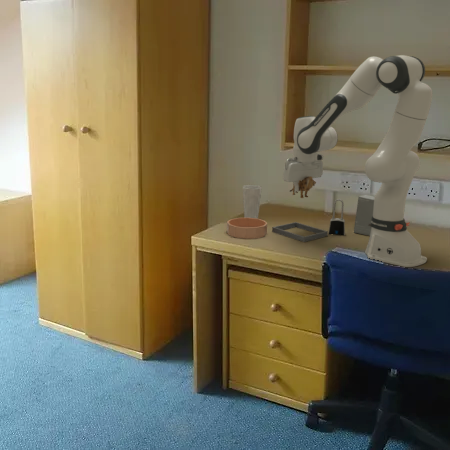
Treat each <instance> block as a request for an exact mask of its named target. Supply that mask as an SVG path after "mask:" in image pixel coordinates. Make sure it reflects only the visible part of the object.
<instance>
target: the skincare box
mask: <svg viewBox="0 0 450 450" xmlns="http://www.w3.org/2000/svg"><path fill="white" fill-rule="evenodd" d="M374 197H375V195H370V194H363V195H359V196H358V199H357V204H356V212H355V220H354V227H353V232H354V234H359V235H364V236H369V237H370V233H371V218H372V216H373V208H374Z"/></svg>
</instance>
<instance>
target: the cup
mask: <svg viewBox="0 0 450 450" xmlns="http://www.w3.org/2000/svg"><path fill="white" fill-rule="evenodd" d="M261 197H262V186H260V185H255V184H247V185H246V184H245V185H242V199H243V200H242V202H243V203H242V204H243V216H244V217H243V218H257V219H259V214H260V213H259V212H260V205H261Z"/></svg>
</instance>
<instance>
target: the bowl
mask: <svg viewBox="0 0 450 450" xmlns="http://www.w3.org/2000/svg"><path fill="white" fill-rule="evenodd" d="M226 233H227V235H228V236H230V237H234V238H236V239H237V238H238V239H247V240H249V239H250V240H251V239H260V238H264V237H266V235H268V222H267V221H266V220H263V219H260V218H258V219H257V218H244V217H236V218H235V217H234V218H231V219H229V220H227V222H226Z"/></svg>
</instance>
